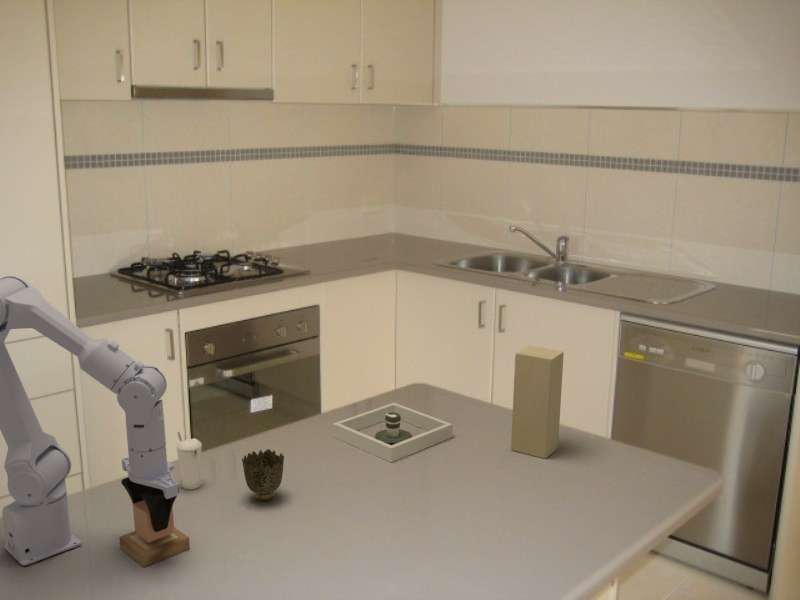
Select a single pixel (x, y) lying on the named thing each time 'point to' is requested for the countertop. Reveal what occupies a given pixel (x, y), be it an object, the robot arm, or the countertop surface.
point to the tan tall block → (536, 401)
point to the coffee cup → (392, 430)
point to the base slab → (153, 547)
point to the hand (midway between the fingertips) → (152, 523)
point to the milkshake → (189, 462)
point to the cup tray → (434, 435)
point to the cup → (263, 473)
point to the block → (149, 523)
